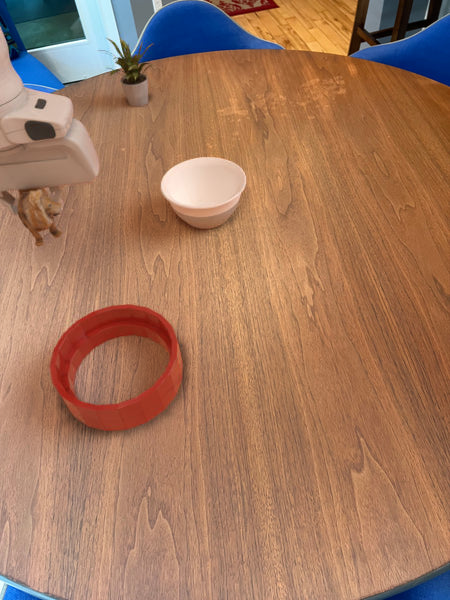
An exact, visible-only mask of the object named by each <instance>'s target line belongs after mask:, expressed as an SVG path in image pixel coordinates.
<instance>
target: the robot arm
mask: <svg viewBox="0 0 450 600" xmlns="http://www.w3.org/2000/svg"><path fill="white" fill-rule="evenodd" d="M9 52H10V51H9V45H8V43H7V40H6V37H5V34H4V32H3V30H2V27H1V26H0V204H2V205H3V206H4V207H7V210H9V212H10V214H11V216H13V217H14V216H19V215H18V212H17V211H18V209H17V207H18V200H19V197H16V198H15V196H13V195H12V194H11V193H10V192H11V191H18V190H23V189H34V188H48V190H49V191H50V193H54V194H50V195H48V196H49V198H50V199H51V200H52V201H54V202H58V203H61V204H62V205H61V209H60V212H63V210H64V207H65V203H64V201H63V198H62V191H63V187H64V186H72V185H73V186H75V185H85V184H92V183H94V182H95V181H96V179H97V178H98V175H99V173H100V166H101V164H100V158H99V156H98V153H97V149H96V148H95V144H94V143H93V140H92V138H91V136H90V133H89V132H88V130H87V128H86V126H85V125H84V123H82V122H81V121H80V120H79V119H77V118H75V117H74V113H75V112H74V110H75V108H74V104H73V102H72V100H71V98H70V97H67V96H65V95H60V94H54V93H49V92H45V91H40V90H36V89H32V88H29V87H26V86H25V85H24V82H23V80H22V78H21V76H20V75H19V74H18V73H17V71H16V70H15V68H14V67H13V64H12V61H11V58H10V53H9Z"/></svg>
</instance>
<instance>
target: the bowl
mask: <svg viewBox="0 0 450 600" xmlns="http://www.w3.org/2000/svg"><path fill="white" fill-rule="evenodd" d="M246 185H247V176H246V173H245V171H244V170H243V169H242V167H241V166H240V165H239V164H237V163H235V162H233V161H231V160H230V159H229V160H228V159H226V158H221V157H214V156H202V157H195V158H191V159H187V160H184V161H182V162H179V163H177V164H176V165H174V166H172V167H171V168H170V169H168V170H167V171H166V172H165V174H164V175H163V177H162V178H161V181H160V192H161V194H162V196H163V197H164V198H165V199H166V200H167V201H168V202H169V203H170V207H171V208H172V210H173V212H174V213H175V214H176V215H177V216H178V217H179V218H180V219H181V220H182V221H184V222H185V223H187V224H188V225H189V226H191V227H193V228H196V229H200V230H208V229H214V228H218V227H219V226H222V225H223V224H225V223H226V222H227V221H228V220H229V218H230V217H231V216H232V215H233V214H234V213H235V211H236V209H237V207H238V206H239V203H240V198H241V195H242V193H243V191H244V190H245V188H246Z"/></svg>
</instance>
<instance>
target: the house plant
mask: <svg viewBox="0 0 450 600" xmlns="http://www.w3.org/2000/svg"><path fill="white" fill-rule="evenodd" d="M105 39H106V40H108V41H109V42H110V43H111V44H112V45H113V47H114V49H115V50H116V52H117V53H118V55H119V57H118V56H117V55H114V54H113V53H112V52H109V51H108V50H101V49H100V50H98V52H106V54H107V55H109V56H111V57H112V58H113V60H115V61H114V63H115V64H116V65H118V66H120V67H121V69H122V70H121V69H113V68H112V67H107V70H108V69H109V70H111V71H110V73H109V76H108V77H109V79H110V77H112V76H113V75H114V74H116V73H117V74H119V75H121V76H122V77H121V78H120V80H119V81H120V84H121V86H122V90H123V91H124V94H125V97H126V100H127V101H128V103H129V104H128V105H129V106H131V107H132V108H139V107H144V106H146V105H147V104H148V103H149V80H148V79H149V77H148V75H146V73H145V72H146V70H147V69H148V68H150V67H155V65H154V64H151V63H150V62H141V60H142V58H143V56H144V55H145V53H147V51H148V49H149V48H150V47H151V46H153V45H154V43H151V44H150V45H148V46H146V48H145V50H144V51H143V53H142V54H141V51H142V45H143V41H144V40H143V39H142V41H141V43H140V45H139V49H138V53H136V54H134V55H133V56H132V53H131V48H130V43H127V42H126V41H125V40H124V39H122V38H121V37H119V42H120V46H121V49H120V47H119V46H118V45H117V43H116V42H115V41H113V40H112V39H110V38H108V37H105ZM114 56H115V57H114ZM140 63H141V64H140ZM146 65H148V66H146ZM145 66H146V67H145ZM144 67H145V69H144V70H143V68H144ZM142 70H143V72H142V73H141V71H142ZM120 72H122V73H123V74H121V73H120Z"/></svg>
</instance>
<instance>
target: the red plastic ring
mask: <svg viewBox="0 0 450 600" xmlns="http://www.w3.org/2000/svg"><path fill="white" fill-rule="evenodd" d="M129 336H137V337H141V338H146V339H149V340H152V341H153V342H154V343H157V344H158V345H160V346H161V347H162V348H163V350H165V352H166V353H167V355H168V362H167V363H168V364H167V365H166V368H165V370H164V371H163V373H162V374H161V376H159V378H158V379H157V380H156V381H155V382H154V384H153V385H152V386H151V387H149V388H148V389H146V390H145V391H143V392H141V393H140V394H139V395H137V396H135V397H133V398H130V399H127V400H124V401H121V402H119V403H108V404H93V403H90V402H86V401H82V400H80V399H78V398H77V394H76V389H75V381H76V375H77V372H78V370H79V368H80V367H81V365H82V362H83V361H84V359H85V358H86V357H87V356H88V355H90V353H91V352H92V351H94V349H96V348H98V347H99V346H101V345H102V344H105V343H106V342H107V341H111V340H114V339H117V338H120V337H129ZM49 370H50V379H51V383H52V385H53V386H54V388H55V389H56V391H57V393H58V394H59V396H60V397H61V399H62V401H63V402H64V403H65V405H66V407H67V408H68V410H69V412H70V413H71V414H72V416H73V417H74V418H75V419H77V420H78V421H79V422H81V423H82V424H84V425H86V426H87V427H89V428H93V429H97V430H101V431H105V432H112V431H126V430H130V429H133V428H135V427H138V426H141V425H144V424H147V423H148V422H150V421H151V420H153V419H155V417H157V416H158V415H159V414H161V413H162V412H164V411H165V410H166V409H167V407H169V406H170V404H171V403H172V401H173V400H174V399H175V398H176V396H177V394H178V391H179V390H180V386H181V384H182V381H183V376H184V375H183V373H184V372H183V371H184V361H183V358H182V354H181V349H180V345H179V341H178V338H177V335H176V333H175V330H174V327H173V325H172V324H171V323H170V322H169V321H168V320H167V319H166V318H165V317H164V316H163V314H161V313H159V312H157V311H155V310H154V309H151V308H150V307H147V306H143V305H137V304H132V303H129V304H116V305H114V304H113V305H109V306H106V307H102V308H99V309H96V310H93V311H91V312H89V313H88V314H86V315H84V316H83V317H81V318H79V319H78V320H76V321H75V322H74V323H73V324H71V326H70V327H68V328H67V329H66V330H65V331H64V332H63V333H62V334H61V336H60V338H59V339H58V341H57V343H56V344H55V346H54V348H53V349H52V354H51V358H50V362H49Z"/></svg>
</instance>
